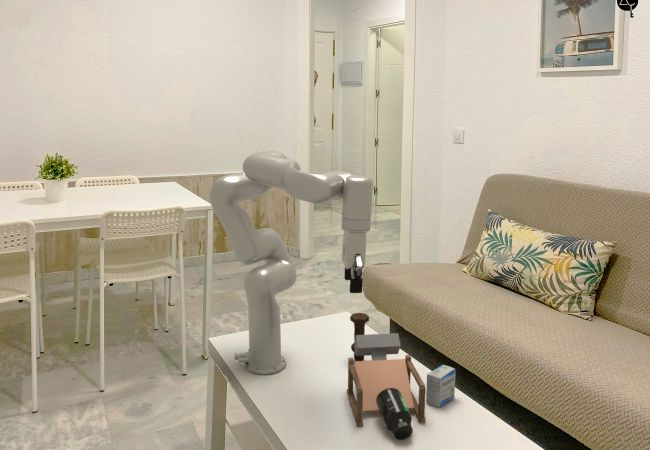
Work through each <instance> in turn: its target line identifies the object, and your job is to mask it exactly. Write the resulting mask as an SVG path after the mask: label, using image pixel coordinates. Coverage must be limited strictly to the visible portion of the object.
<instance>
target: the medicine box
mask: <svg viewBox="0 0 650 450" xmlns="http://www.w3.org/2000/svg"><path fill="white" fill-rule="evenodd" d="M456 370H457V369H456V368H454V367H452V366H449V365H445V364H441V365H440V366H438V367H437V368H435V369H432V371H430V372H428V373H427V374H426V391H425V404H428V405H431V406H434V407H436V408H438V409H441V408H442V407H443V406H445V404H447V403H448V402H449V401H452V400H453V398H454V397H455V392H456V389H455V388H456V373H457V372H456Z"/></svg>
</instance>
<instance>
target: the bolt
mask: <svg viewBox="0 0 650 450" xmlns="http://www.w3.org/2000/svg"><path fill="white" fill-rule="evenodd" d="M349 320H350V322H352V323H353V327H354V333H353V335H354V336H353V339H354V340H353V341H355V337H356V335H366V334H365V332H366V330H365V328H366V324H367V322H369V321H370V317H369V315H368V314H367V313H364V312H355V313H352V314H351V315H350V316H349ZM350 349H351V351H352V352H353V360H354V362H355V361H365V356H356V354H355V347H354V342H353V343H352V344H351V347H350Z"/></svg>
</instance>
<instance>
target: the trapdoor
mask: <svg viewBox="0 0 650 450" xmlns="http://www.w3.org/2000/svg"><path fill="white" fill-rule="evenodd" d="M353 341H354V340H353ZM353 343H354V347H355V354H356V356H364V357H365V356H371V360H364V361H355V360H354V362H353V364H354V366H355V369H356V372H357V375H358V378H359V380H360V383H361V386H362V391H363V410H362V413H368V412H369V413H370V412H372V413H373V412H380V411H379V409H378V406H377V404H376V398H377V396H378V394H379V393H380V392H381V391H383V390H384V389H387V388H395V389H398V390H399V391H400V392H401V394H402V396H403V399H404V401H405V403H406V405H407V407H408V410H412V409H414V404H413V398H412V393H413V392H412V393H411V391H412V389H411V382H410V383H409V378H408V373H407V367H406V362H405V358H397V359H394V358H393V359H388V357H387V356H388V355H398V354H399V351H400V350H401V341H400V336H399V333H398V332H397V333H396V332H395V333H394V332H393V333H375V334H374V333H373V334H364V335H356V337H355V341H354V342H353Z"/></svg>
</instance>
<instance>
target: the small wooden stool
mask: <svg viewBox="0 0 650 450" xmlns="http://www.w3.org/2000/svg"><path fill="white" fill-rule="evenodd" d="M404 359H405V362H406V367H407V373H408V378H409V383H410V384H411V375H412V377H413V379H414V380H415V382H416V384H417V385H418V401H417V400H416V398H415V395H414V393H413V391H412V390H411V393H412V398H413V404H414V409H411V410H412V411H413V414H414V415H415V418H416V419H417V422H418V424H426V417H425V413H426V412H425V411H426V410H425V407H426V389H427V387H426V384H425V383H424V381H423V379H422V377H421V376H420V373H419V372H418V370H417V369H416V367H415V365H414V364H413V362H412V356H411V355H410V354H405V357H404ZM354 362H355V359H354V357H348V358H347V363H348V365H347V389H346V395H347V399H348V402H349V405H350V408H351V411H352V415H353V417H354V418H353V419H354V422H355V425H356V427H357V428H359V427H360V428H362V427H364V420H363V412H362V410H363V391H362V386H361V383H360V380H359V378H358V375H357V372H356V369H355V364H354ZM354 386H355V389H356V395H355V392H354Z"/></svg>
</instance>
